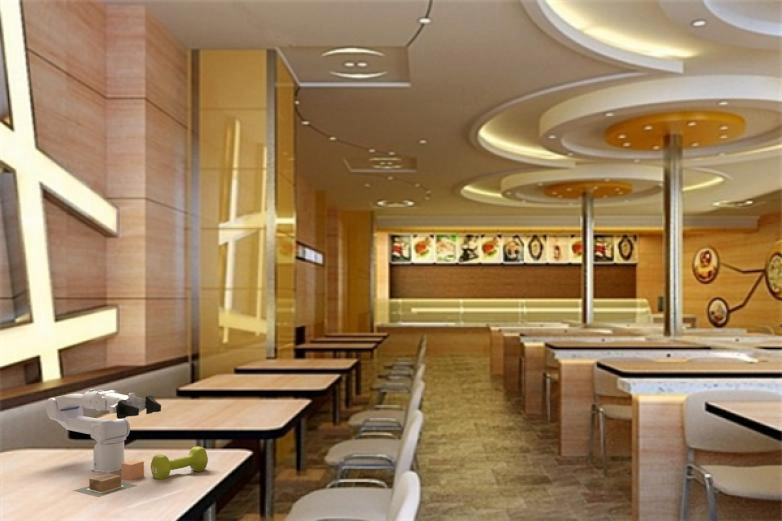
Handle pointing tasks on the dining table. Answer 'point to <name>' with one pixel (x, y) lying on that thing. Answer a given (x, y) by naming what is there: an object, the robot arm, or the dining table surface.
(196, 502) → the dining table surface
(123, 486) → the grey square base plate
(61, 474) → the dining table surface
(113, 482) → the base block
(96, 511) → the dining table surface
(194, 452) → the dumbbell
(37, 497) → the dining table surface
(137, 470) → the top block
